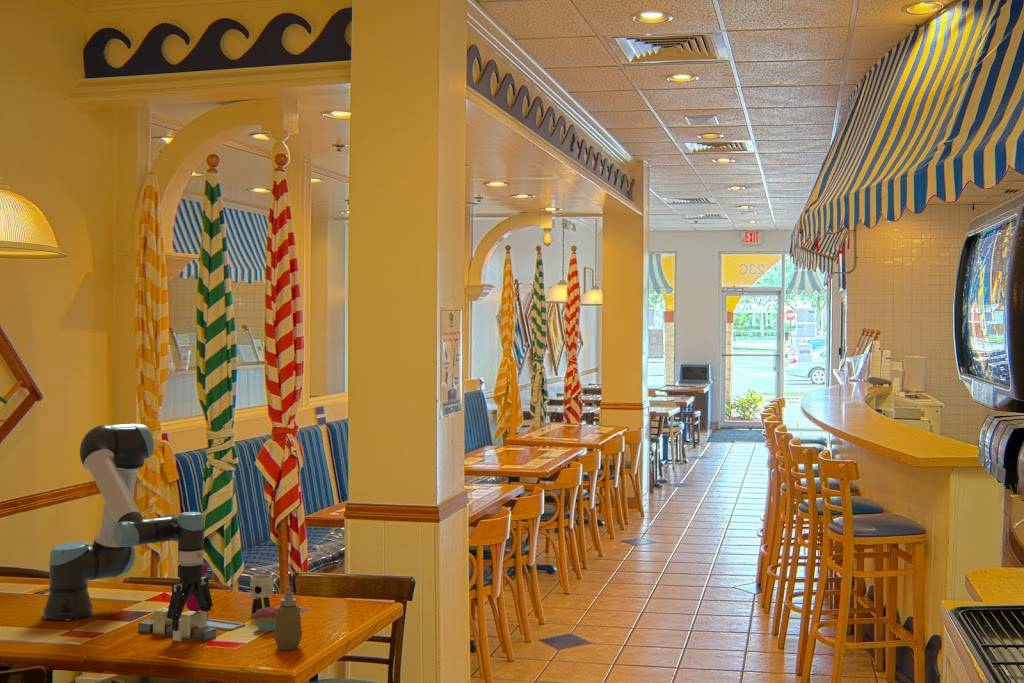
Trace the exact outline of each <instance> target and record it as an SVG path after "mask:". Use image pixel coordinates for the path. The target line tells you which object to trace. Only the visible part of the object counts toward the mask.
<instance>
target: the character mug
mask: <svg viewBox="0 0 1024 683" xmlns="http://www.w3.org/2000/svg"><path fill="white" fill-rule="evenodd" d="M273 580H274V578H273V575H271V574H255V575H252V576H251V577H250V582H249V589H250V591H249V593H250V596H251V597H252V598H253V600H252V606H251V613H250V614H251V616H252V617H253V615H254V613H255V612H256V611H257V610H259V609H262V601H261V593H262V595H263V600H264V606H265V608H266V607H271V602H270V598H269V597H272V595H273V593H274V583H273Z"/></svg>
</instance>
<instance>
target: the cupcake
mask: <svg viewBox="0 0 1024 683" xmlns="http://www.w3.org/2000/svg"><path fill="white" fill-rule="evenodd" d="M261 601H262V609H259V610H257V611H256V612H255V613H253V616H252V617H253V621H255V623H256V625H257V628H258V630H259V631H260V632H272V631H275V623H276V614H277V608H275V607H271V606H270V607H266V608H265V606H264V600H263V595H262V593H261Z"/></svg>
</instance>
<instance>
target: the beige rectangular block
mask: <svg viewBox="0 0 1024 683" xmlns="http://www.w3.org/2000/svg"><path fill="white" fill-rule="evenodd" d="M180 619H182V637H183V638H182V639H186V638H190V639H189V640H192V639H191V638H192V635H193V630H196V629H199V628H201V612H196V611H189V610H187V611H184V612H183V611H182V614H181V617H180Z"/></svg>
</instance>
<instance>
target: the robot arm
mask: <svg viewBox="0 0 1024 683" xmlns="http://www.w3.org/2000/svg"><path fill="white" fill-rule="evenodd" d="M154 451H155V441H154V437H153V433H152V432H151V430H150V429H149V427H148V426H147V425H145V424H142V423H134V422H133V423H126V424H125V423H124V424H122V423H121V424H102V425H97V426H95V427H93V428H91V429H90V430H88V432H86V434H85V435H84V436H83V438H82V440H81V441H80V446H79V459H80V461H81V464H82V466H83V467H84V470H85V471H88V472H90V474H91V476H92V479H93V480H94V482H95V484H96V486H97V488H98V490H99V492H100V494H101V496H102V498H103V501H104V507H103V512H102V517H101V518H102V519H101V523H100V529H99V533H97V534H96V535H95V536H94V538H93V544H89V542H87V541H84V540H82V541H81V540H79V541H78V540H77V541H70V542H65V543H61V544H58V545H56V546H55V547H53V548H52V549H51V550H50V554H49V562H48V564H49V589H48V590H49V591H48V593H49V594H48V596H47V600H46V603H45V607H44V608H43V611H42V617H44V618H46V619H45V620H47V619H53V620H52V621H55V620H64V621H67V620H66V619H75V620H77V619H76V618H81V617H85V618H87V617H86V616H88V617H90V616H89V615H91V614H92V613H93V614H94V605H93V604H92V600H91V597H90V594H89V590H88V589H89V585H88V584H89V582H90V581H93V580H101V579H108V578H116V577H119V576H120V577H121V576H124V575H126V574H128V573H129V572H130V571H131V570H132V568H133V567H134V564H135V560H136V552H135V551H136V549H135V546H143V545H149V544H157V543H165V542H177V563H178V565H177V577H178V578H179V583H178V584H172V586H171V596H170V600H169V604H168V607H167V608H168V613H167V618H169V619H172V630H173V636H172V641H175V642H182V639H183V638H182V619H180V617H181V614H182V613H183V611H184V609H185V607H186V601H187V599H188V598H189V597H190V595H192V594H193V595H194V597H195V599H196V601H197V603H198V605H199V607H200V610H201V611H198V612H201V628H202V627H207V619H209V617H208V615H209V614H208V613H209V612H210V611H212V610H211V609H212V607H213V606H214V605H213V600H212V595H211V590H210V586H209V581H210V580H209V577H207V576H206V577H202V576H203V569H204V565H203V564H202V562H203V561H204V546H205V544H204V543H205V542H204V541H205V522H204V521H205V519H204V518H205V516H204V514H203V513H202V512H199V511H185V512H181V513H179V515H175V514H165V515H161V516H160V517H156V518H155V517H154V518H146V519H145V518H143V515H142V513H141V512H140V510H139V508H138V506H137V504H136V502H135V500H134V495H135V488H136V483H137V477H138V476H137V475H138V471H139V470H141V469H142V468H143V467H144V465H145V464H144V463H145V459H150V457H152V455H153V454H154ZM207 602H208V603H207ZM93 614H92V615H93ZM171 614H172V615H171ZM92 615H91V616H92ZM44 618H43V619H44ZM81 619H82V618H81Z"/></svg>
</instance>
